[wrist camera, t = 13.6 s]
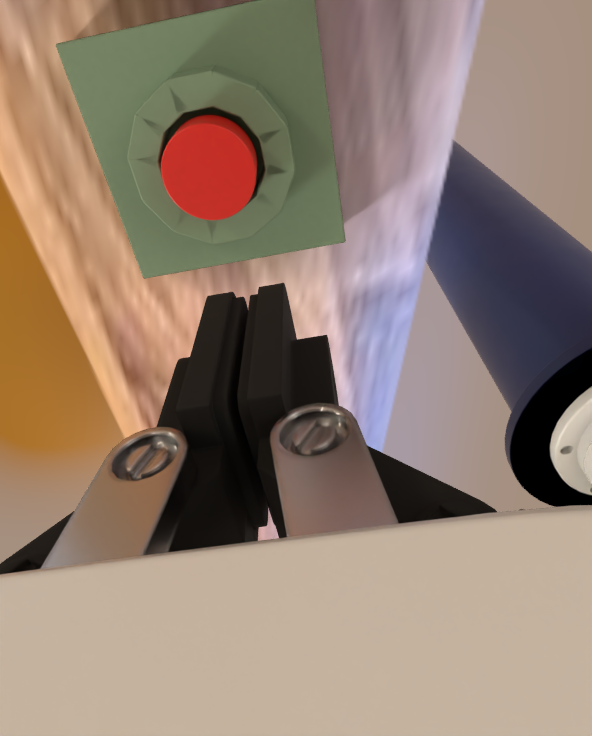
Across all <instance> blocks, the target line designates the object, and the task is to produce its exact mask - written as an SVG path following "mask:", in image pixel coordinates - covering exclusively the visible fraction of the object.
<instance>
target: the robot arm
mask: <svg viewBox="0 0 592 736" xmlns="http://www.w3.org/2000/svg"><path fill="white" fill-rule="evenodd" d="M550 456H551V459H552V462H553V464H554V467H555V469H556V470H557V472H558V473H559V475H560V476H561V478H562V479H563V480H564V481H565V482H566V483H567V484H568V485H569V486H570V487H572V488H574V489H576V490H578V491H580V492H582V493H585V494H588V495H592V387H590V388H589V389H588V390H586V391H585V392H584V393H583V394H581V395H580V396H579V397H578V398H577V399H576V400H575V401H574V402H573V403H572V404H571V405H570V406H569V407H568V408H567V409H566V411H565V412H564V414H563V415H562V416H561V418H560V419H559V421H558V423H557V425H556V427H555V429H554V431H553V434H552V438H551V443H550ZM268 507H269V510H270V514H271V517H272V520H273V523H274V524H275V526H276V529H277V532H278V535H279V538H278V539H270V540H262V541H258V527H263V526H267V523H268ZM0 736H592V505H581V506H563V507H552V508H541V509H529V510H523V509H521V510H518V511H506V512H497V511H496V510H495V509H493V508H492V507H490V506H489V505H487V504H485V503H484V502H482V501H481V500H479V499H476V498H474V497H472V496H470V495H468V494H466V493H464V492H462V491H460V490H458V489H456V488H453V487H452V486H450V485H448V484H445V483H443V482H441V481H439V480H437V479H435V478H433V477H431V476H429V475H427V474H425V473H423V472H421V471H419V470H416V469H414V468H412V467H410V466H408V465H406V464H404V463H402V462H400V461H398V460H396V459H394V458H392V457H390V456H387V455H385V454H383V453H381V452H379V451H377V450H375V449H373V448H371V447H369V446H367V445H366V442H365V440H364V438H363V435H362V433H361V430H360V428H359V425H358V423H357V421H356V419H355V418H354V416H353V415H352V413H351V412H349V411H348V410H346V409H345V408H343V407H341V406H339V404H338V397H337V390H336V383H335V377H334V371H333V365H332V359H331V353H330V348H329V342H328V337H327V335H323V336H317V337H311V338H305V339H298V340H297V338H296V333H295V329H294V324H293V319H292V315H291V310H290V305H289V300H288V296H287V291H286V287H285V284H284V283H281V284H275V285H269V286H263V287H259V290H258V294H256V295H251V296H250V301H249V309H248V308H247V304H246V301H245V298H244V297H238V298H236V296H235V294H234V293H233V292H228V293H223V294H217V295H211V296H208V297H207V299H206V303H205V306H204V310H203V313H202V317H201V320H200V324H199V327H198V331H197V335H196V338H195V342H194V345H193V349H192V352H191V356H190V357H188V358H181V359H179V360H178V362H177V364H176V367H175V370H174V374H173V377H172V380H171V383H170V386H169V389H168V393H167V396H166V399H165V402H164V405H163V409H162V412H161V415H160V418H159V421H158V424H157V427H155V428H149V429H145V430H143V431H140V432H137V433H135V434H133V435H131V436H129V437H127V438H126V439H124V440H123V441H121V442H120V443H119V444H118V445H117V446H115V447H114V448H113V449H112V451H111V452H110V453H109V454H108V456H107V457H106V459H105V460H104V462H103V464H102V465H101V467H100V469H99V471H98V472H97V474H96V476H95V477H94V479H93V481H92V482H91V484H90V486H89V487H88V489H87V491H86V492H85V494H84V496H83V497H82V499H81V501H80V503H79V504H78V506H77V508H76V509H75V511H73V512H72V513H71V514H69V515H68V516H66V517H65V518H64V519H62V520H61V521H59V522H58V523H57V524H55V525H54V526H53V527H51V528H50V529H48V530H47V531H46V532H44V533H43V534H41V535H40V536H39V537H37V538H36V539H34V540H33V541H31V542H30V543H29V544H27V545H26V546H24V547H23V548H22V549H20V550H19V551H18V552H16V553H15V554H13V555H12V556H11V557H9V558H8V559H6V560H5V561H4V562H2V563H1V564H0Z"/></svg>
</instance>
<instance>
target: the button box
mask: <svg viewBox="0 0 592 736" xmlns="http://www.w3.org/2000/svg"><path fill="white" fill-rule="evenodd" d="M56 47H57V50H58V53H59V55H60V58H61V61H62V63H63V66H64V69H65V71H66V74H67V77H68V79H69V82H70V85H71V87H72V90H73V93H74V95H75V98H76V100H77V103H78V106H79V108H80V111H81V114H82V116H83V119H84V122H85V124H86V127H87V130H88V132H89V135H90V138H91V140H92V143H93V146H94V148H95V151H96V154H97V156H98V159H99V162H100V164H101V167H102V170H103V172H104V175H105V177H106V180H107V183H108V185H109V188H110V191H111V193H112V196H113V199H114V201H115V204H116V207H117V209H118V212H119V215H120V217H121V220H122V223H123V225H124V228H125V231H126V233H127V236H128V239H129V241H130V244H131V246H132V249H133V252H134V254H135V257H136V260H137V262H138V265H139V268H140V270H141V273H142V276H143V278H150V277H156V276H161V275H167V274H172V273H178V272H183V271H189V270H194V269H200V268H205V267H211V266H216V265H222V264H227V263H233V262H238V261H244V260H249V259H255V258H260V257H266V256H271V255H277V254H282V253H288V252H293V251H299V250H304V249H310V248H315V247H321V246H327V245H332V244H338V243H343V242H345V241H346V240H345V232H344V225H343V217H342V209H341V201H340V194H339V186H338V178H337V171H336V163H335V155H334V147H333V140H332V132H331V124H330V116H329V109H328V101H327V93H326V86H325V78H324V70H323V62H322V55H321V47H320V39H319V31H318V24H317V16H316V8H315V0H255V1H250V2H246V3H241V4H236V5H232V6H227V7H223V8H218V9H213V10H209V11H204V12H200V13H195V14H190V15H186V16H181V17H177V18H172V19H167V20H163V21H158V22H154V23H149V24H144V25H140V26H135V27H131V28H126V29H121V30H117V31H112V32H108V33H103V34H98V35H94V36H89V37H85V38H80V39H75V40H71V41H67V42H62V43H58V44H56ZM201 115H217V116H221V117H225V118H227V119H229V120H231V121H233V122H234V123H236V124H237V125H239V126H240V127H241V128H242V129H243V130H244V131H245V132H246V134H247V135H248V136H249V138H250V140H251V141H252V143H253V146H254V148H255V151H256V155H257V176H256V185H255V189H254V192H253V194H252V196H251V198H250V200H249V202H248V203H247V204H246V206H245V207H244V208H243V209H242V210H240V211H239V212H238V213H236V214H234V215H233V216H230V217H228V218H225V219H221V220H205V219H200V218H197V217H194V216H192V215H190V214H188V213H186V212H185V211H184V210H182V209H181V208H180V207H179V206H178V205H176V203H175V202H174V201H173V200H172V199H171V197H170V196H169V194H168V192H167V190H166V188H165V186H164V183H163V179H162V174H161V161H162V156H163V152H164V150H165V148H166V145H167V144H168V142H169V141H170V139H171V138H172V136H173V135H174V134H175V132H176V131H177V130H178V129H179V127H180V126H181V125H183V124H184V123H185V122H186V121H188V120H190V119H192V118H194V117H197V116H201Z"/></svg>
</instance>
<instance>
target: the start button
mask: <svg viewBox="0 0 592 736" xmlns="http://www.w3.org/2000/svg"><path fill="white" fill-rule="evenodd" d="M161 174H162V179H163V183H164V186H165V188H166V190H167V192H168V194H169V196H170V197H171V199H172V200H173V201H174V202H175V203H176V205H178V206H179V207H180V208H181V209H182V210H184V211H185V212H186V213H188V214H190V215H192V216H194V217H197V218H200V219H205V220H221V219H225V218H228V217H230V216H233V215H234V214H236V213H238V212H239V211H240V210H242V209H243V208H244V207H245V206H246V204H247V203H248V202H249V200H250V198H251V196H252V194H253V192H254V189H255V185H256V176H257V155H256V151H255V148H254V146H253V143H252V141H251V140H250V138H249V136H248V135H247V134H246V132H245V131H244V130H243V129H242V128H241V127H240V126H239V125H237V124H236V123H234V122H233V121H231V120H229V119H227V118H225V117H221V116H217V115H201V116H197V117H194V118H192V119H190V120H188V121H186V122H185V123H184V124H183V125H181V126H180V127H179V129H178V130H177V131H176V132H175V134H174V135H173V136H172V138H171V139H170V141H169V142H168V144H167V145H166V148H165V150H164V152H163V156H162V161H161Z"/></svg>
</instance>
